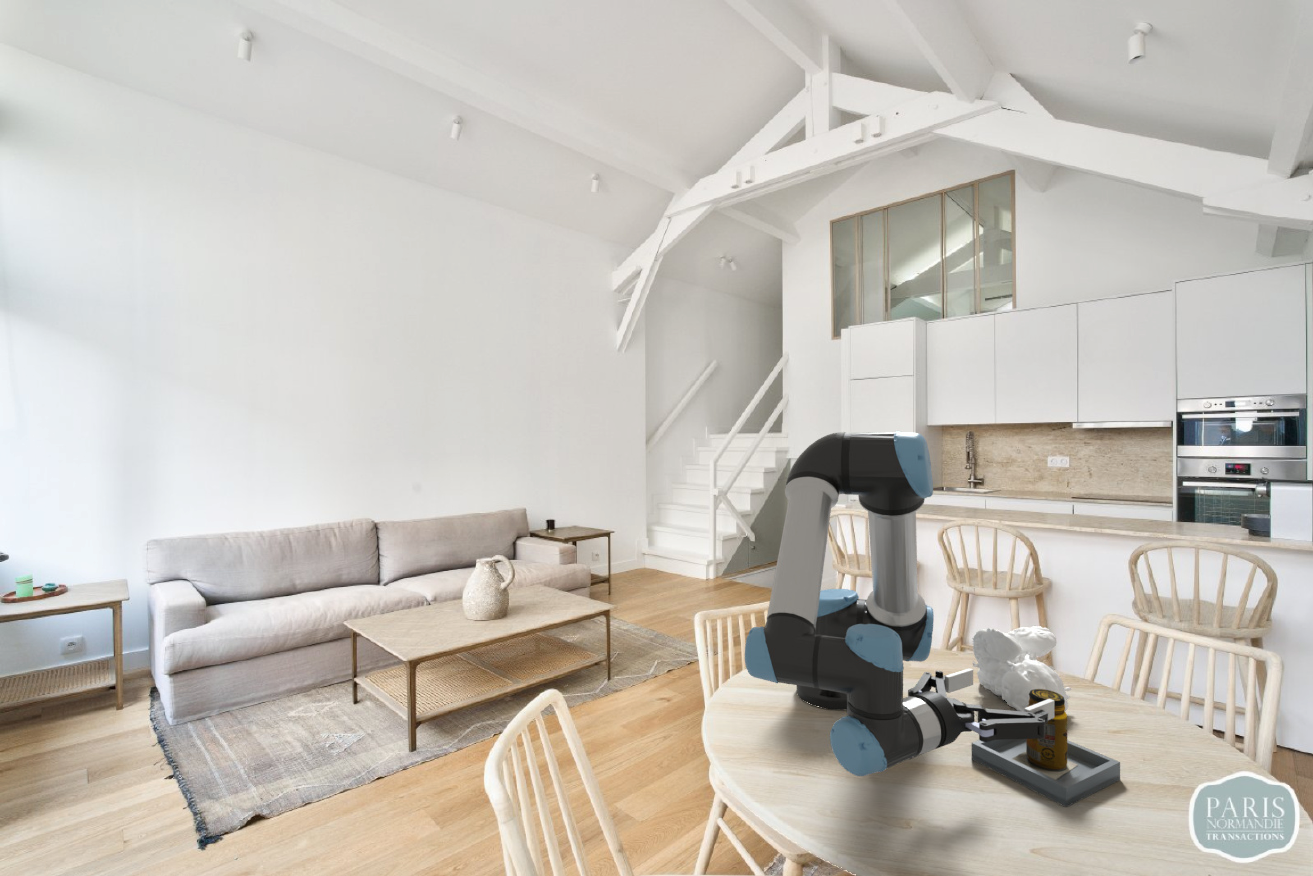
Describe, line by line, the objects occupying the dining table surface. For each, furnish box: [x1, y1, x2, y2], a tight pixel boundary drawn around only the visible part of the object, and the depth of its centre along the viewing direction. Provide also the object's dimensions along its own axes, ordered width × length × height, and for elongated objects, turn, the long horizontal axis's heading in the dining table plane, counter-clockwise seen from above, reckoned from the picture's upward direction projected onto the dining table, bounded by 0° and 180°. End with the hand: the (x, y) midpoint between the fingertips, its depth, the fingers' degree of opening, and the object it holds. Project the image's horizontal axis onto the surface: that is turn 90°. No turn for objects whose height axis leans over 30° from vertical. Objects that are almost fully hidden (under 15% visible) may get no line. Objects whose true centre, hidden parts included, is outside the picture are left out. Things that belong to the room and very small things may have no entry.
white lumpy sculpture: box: [972, 625, 1072, 712], centre depth 133 cm, size 19×20×20 cm
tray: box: [971, 739, 1121, 808], centre depth 106 cm, size 16×16×3 cm
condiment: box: [1012, 689, 1078, 780], centre depth 106 cm, size 7×8×12 cm
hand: (1009, 691), depth 101 cm, fingers open, 13 cm apart
